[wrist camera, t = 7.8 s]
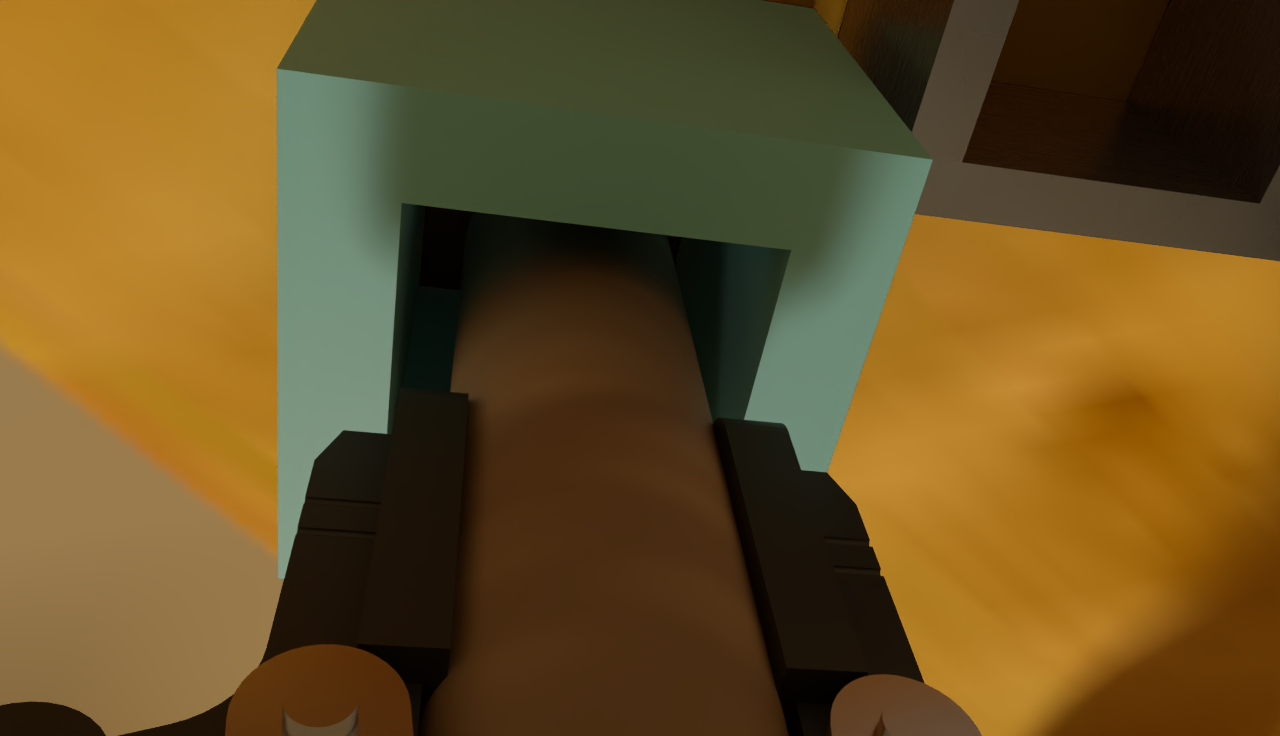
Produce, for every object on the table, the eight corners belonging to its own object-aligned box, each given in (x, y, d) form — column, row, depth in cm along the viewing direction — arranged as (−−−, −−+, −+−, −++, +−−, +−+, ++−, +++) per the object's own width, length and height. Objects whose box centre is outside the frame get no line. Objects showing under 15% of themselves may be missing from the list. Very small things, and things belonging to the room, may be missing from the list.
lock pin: (718, 148, 16) (1108, 1160, 5) (668, 371, 18) (878, 1423, 7) (447, 112, 15) (272, 1182, 5) (428, 347, 17) (276, 1462, 7)
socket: (814, 9, 17) (933, 160, 12) (719, 378, 21) (780, 610, 16) (354, -65, 16) (276, 68, 11) (340, 340, 20) (278, 578, 15)
